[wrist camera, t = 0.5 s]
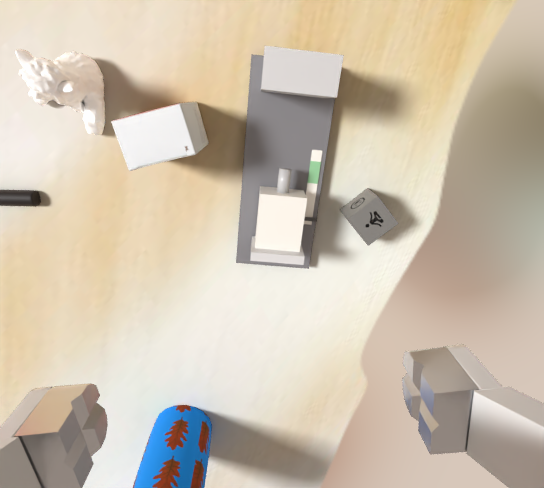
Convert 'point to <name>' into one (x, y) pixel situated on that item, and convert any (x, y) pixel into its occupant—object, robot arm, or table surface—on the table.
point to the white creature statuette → (67, 84)
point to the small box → (161, 134)
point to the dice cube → (369, 216)
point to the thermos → (176, 450)
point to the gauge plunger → (280, 223)
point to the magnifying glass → (19, 198)
